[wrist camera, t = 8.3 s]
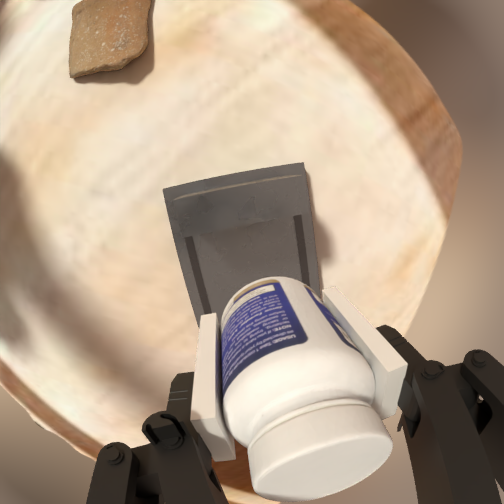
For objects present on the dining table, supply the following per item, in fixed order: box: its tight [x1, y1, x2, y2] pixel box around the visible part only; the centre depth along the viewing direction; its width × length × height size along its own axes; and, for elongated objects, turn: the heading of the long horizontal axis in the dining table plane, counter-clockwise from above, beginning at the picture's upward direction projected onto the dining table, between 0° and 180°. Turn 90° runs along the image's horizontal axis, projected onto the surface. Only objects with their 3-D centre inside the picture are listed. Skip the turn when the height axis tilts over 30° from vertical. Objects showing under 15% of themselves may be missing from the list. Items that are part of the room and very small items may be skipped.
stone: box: [69, 0, 151, 78], centre depth 19 cm, size 11×16×3 cm
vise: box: [163, 162, 320, 329], centre depth 27 cm, size 14×24×8 cm, turn 10°
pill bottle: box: [221, 277, 393, 502], centre depth 9 cm, size 5×5×9 cm
